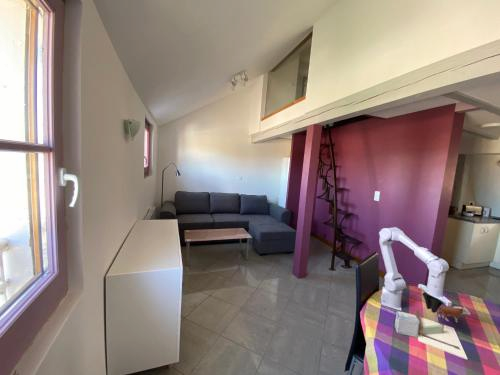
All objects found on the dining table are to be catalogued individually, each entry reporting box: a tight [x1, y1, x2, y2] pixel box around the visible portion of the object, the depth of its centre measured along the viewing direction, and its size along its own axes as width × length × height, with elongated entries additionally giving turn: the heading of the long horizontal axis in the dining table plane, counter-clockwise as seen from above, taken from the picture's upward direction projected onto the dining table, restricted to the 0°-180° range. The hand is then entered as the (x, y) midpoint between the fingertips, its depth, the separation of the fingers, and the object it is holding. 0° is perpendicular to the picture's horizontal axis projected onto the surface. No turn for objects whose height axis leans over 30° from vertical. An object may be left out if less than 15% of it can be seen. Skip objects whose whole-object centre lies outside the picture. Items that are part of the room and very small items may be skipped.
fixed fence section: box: [414, 310, 421, 325], centre depth 104 cm, size 1×12×4 cm, turn 148°
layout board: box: [417, 316, 468, 360], centre depth 99 cm, size 16×20×1 cm
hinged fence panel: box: [418, 323, 445, 335], centre depth 99 cm, size 13×2×4 cm, turn 98°
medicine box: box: [394, 310, 419, 339], centre depth 100 cm, size 8×4×9 cm, turn 71°
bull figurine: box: [437, 305, 471, 324], centre depth 109 cm, size 4×13×8 cm, turn 78°
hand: (431, 310), depth 102 cm, fingers closed
